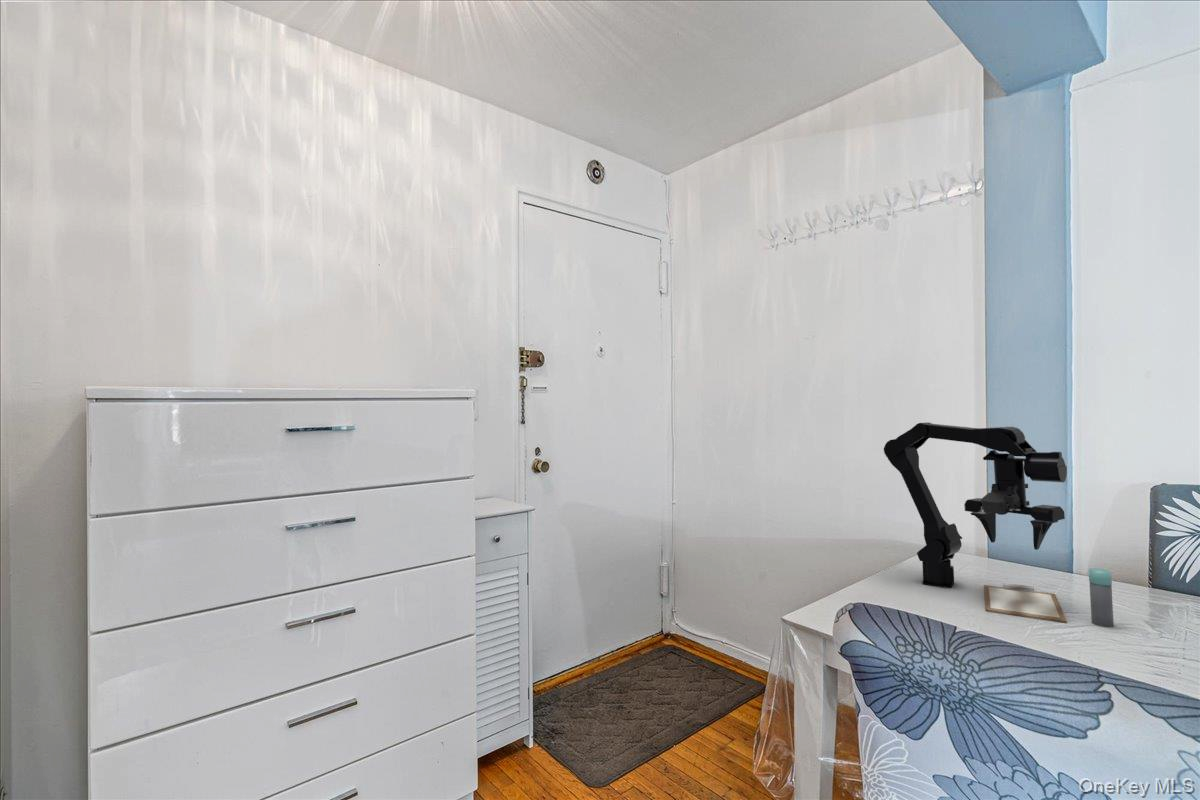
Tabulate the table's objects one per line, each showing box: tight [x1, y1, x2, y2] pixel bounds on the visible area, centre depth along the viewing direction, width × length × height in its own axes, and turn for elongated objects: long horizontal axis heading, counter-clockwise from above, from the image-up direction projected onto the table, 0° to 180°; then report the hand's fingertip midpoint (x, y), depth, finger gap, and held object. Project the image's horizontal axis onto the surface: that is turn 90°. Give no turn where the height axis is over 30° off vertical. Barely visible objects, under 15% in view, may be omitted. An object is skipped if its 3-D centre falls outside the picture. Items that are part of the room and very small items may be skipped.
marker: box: [1087, 567, 1115, 628], centre depth 114 cm, size 4×4×11 cm
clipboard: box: [983, 582, 1068, 624], centre depth 127 cm, size 14×20×2 cm
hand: (1014, 545), depth 129 cm, fingers open, 9 cm apart
